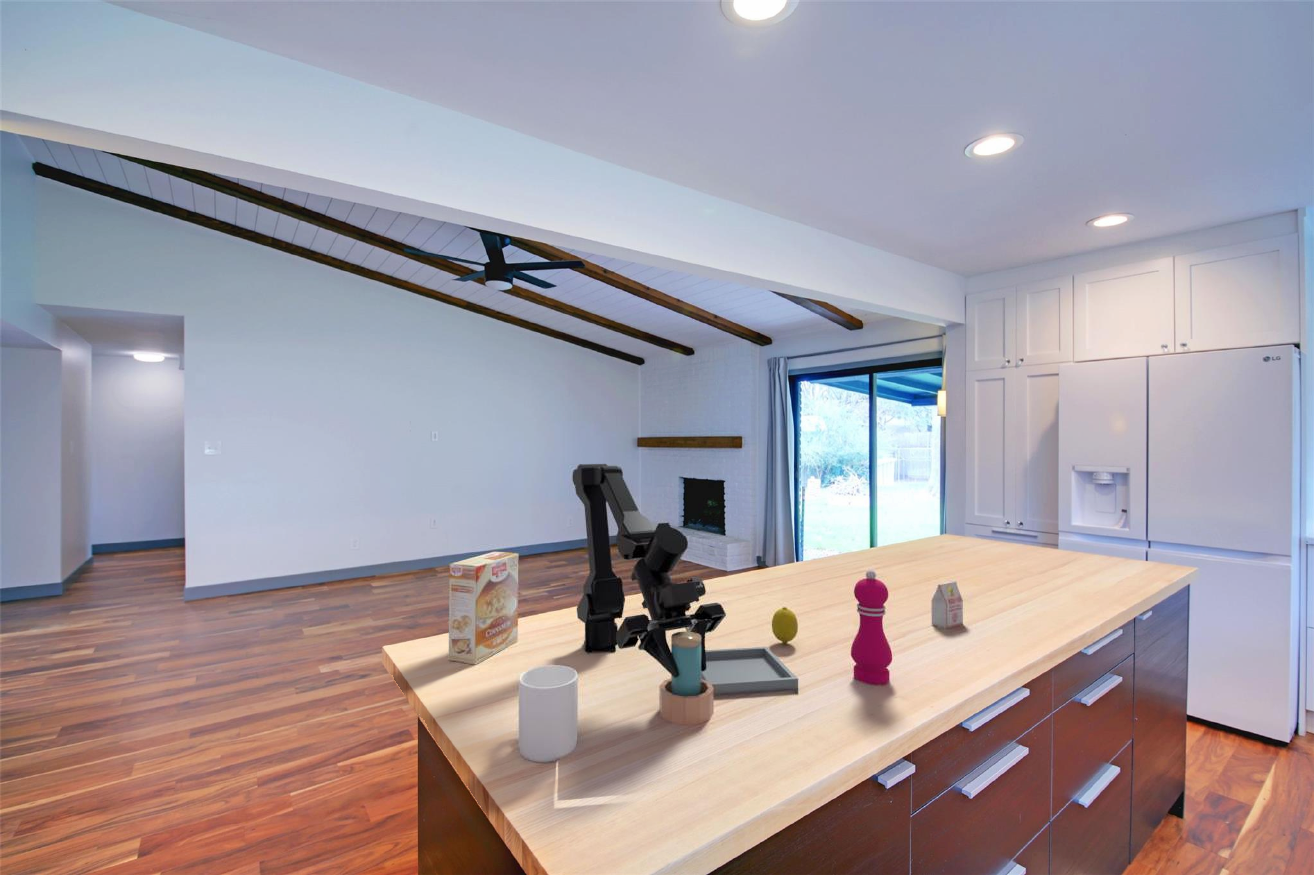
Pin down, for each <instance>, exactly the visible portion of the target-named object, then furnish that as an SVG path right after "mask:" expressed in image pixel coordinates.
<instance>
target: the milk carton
mask: <svg viewBox="0 0 1314 875" xmlns="http://www.w3.org/2000/svg"><path fill="white" fill-rule="evenodd" d="M963 602H964V599H963V596H962V594H961V592H960V590H959V587H958V585H957V581H950V582H949V581H948V582H945V583H941V584H938V585H937V587H936V590H935V592H934V594H933V597H932V598H931V625H932V624H933V625H932V626H935V625H937V626H936V627H938V626H940V627H939V628H942V627H944V628H943V629H945V628H947V629H950V627H951V628H953V627H954V626H955V627H957V626H958V627H959V626H962V625H964V615H963V614H964V611H963V609H964V607H963V606H964V605H963V604H964V603H963Z"/></svg>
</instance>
